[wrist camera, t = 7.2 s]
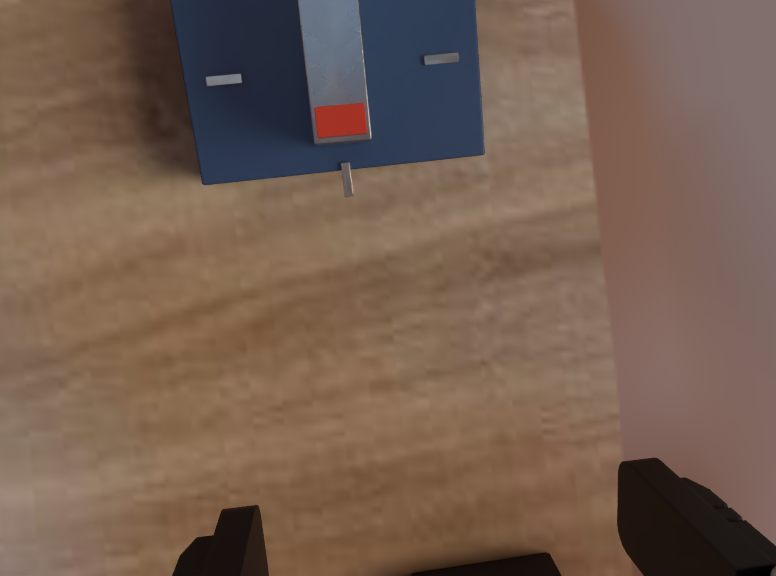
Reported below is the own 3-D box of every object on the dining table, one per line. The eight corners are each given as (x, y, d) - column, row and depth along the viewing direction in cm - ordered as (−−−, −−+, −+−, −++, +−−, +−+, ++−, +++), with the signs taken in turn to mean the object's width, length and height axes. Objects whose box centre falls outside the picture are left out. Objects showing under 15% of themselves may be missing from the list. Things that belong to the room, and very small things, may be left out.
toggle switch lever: (299, -10, 22) (290, -52, 18) (350, -14, 22) (353, -56, 18) (318, 147, 23) (313, 144, 19) (366, 143, 24) (372, 138, 19)
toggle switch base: (454, -54, 25) (471, -84, 22) (471, 178, 27) (488, 180, 24) (180, -31, 24) (158, -59, 21) (221, 206, 27) (205, 212, 24)
